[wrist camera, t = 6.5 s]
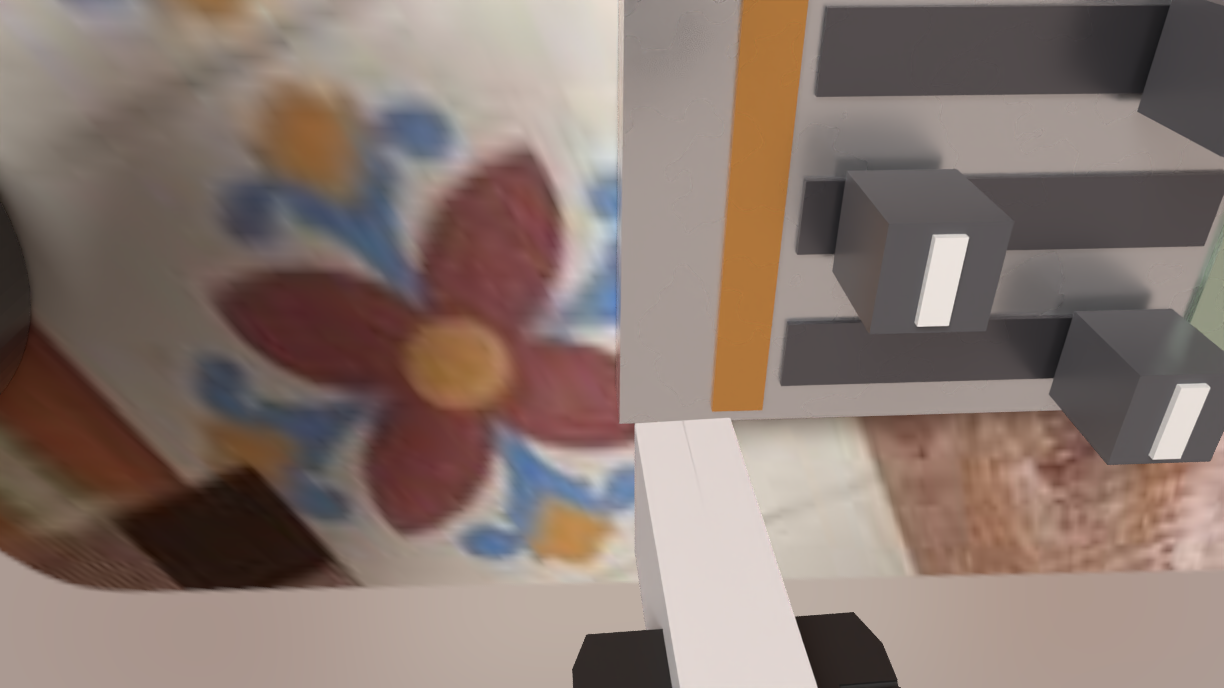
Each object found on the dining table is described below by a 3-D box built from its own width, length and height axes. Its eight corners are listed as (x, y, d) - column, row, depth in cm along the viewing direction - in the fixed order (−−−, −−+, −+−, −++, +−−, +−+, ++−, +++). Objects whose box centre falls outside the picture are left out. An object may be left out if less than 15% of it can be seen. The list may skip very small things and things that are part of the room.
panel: (615, 388, 30) (619, 427, 28) (619, -66, 23) (625, -54, 21) (1244, 370, 31) (1288, 406, 29) (1438, -68, 24) (1513, -57, 22)
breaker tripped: (832, 271, 25) (871, 338, 22) (846, 170, 24) (891, 227, 21) (935, 269, 26) (989, 335, 22) (956, 169, 24) (1017, 224, 21)
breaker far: (1048, 394, 28) (1111, 469, 25) (1074, 311, 27) (1144, 380, 24) (1140, 391, 28) (1214, 465, 25) (1172, 308, 27) (1254, 376, 24)
